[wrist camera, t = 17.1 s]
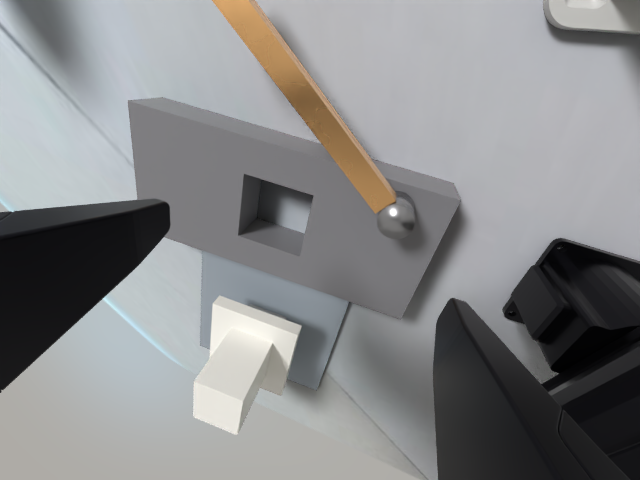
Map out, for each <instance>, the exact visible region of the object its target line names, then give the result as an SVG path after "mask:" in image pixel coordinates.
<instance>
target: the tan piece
mask: <svg viewBox="0 0 640 480" xmlns="http://www.w3.org/2000/svg"><path fill="white" fill-rule="evenodd" d="M212 1H213V2H214V4H215V5H216V6H217V7H218V9H219V10H220V11H221V13H222V14H223V15H224V17H225V18H226V19H227V21H228V22H229V23H230V24H231V26H232V27H233V28H234V30H235V31H236V32H237V34H238V35H239V36H240V38H241V39H242V40H243V41H244V43H245V44H246V45H247V47H248V48H249V49H250V51H251V52H252V53H253V55H254V56H255V57H256V58H257V60H258V61H259V62H260V64H261V65H262V66H263V68H264V69H265V70H266V72H267V73H268V74H269V75H270V77H271V78H272V79H273V81H274V82H275V83H276V85H277V86H278V87H279V89H280V90H281V91H282V92H283V94H284V95H285V96H286V98H287V99H288V100H289V102H290V103H291V104H292V106H293V107H294V108H295V109H296V111H297V112H298V113H299V115H300V116H301V117H302V119H303V120H304V121H305V123H306V124H307V125H308V126H309V128H310V129H311V130H312V132H313V133H314V134H315V136H316V137H317V138H318V140H319V141H320V142H321V143H322V145H323V146H324V147H325V149H326V150H327V151H328V153H329V154H330V155H331V157H332V158H333V159H334V160H335V162H336V163H337V164H338V166H339V167H340V168H341V170H342V171H343V172H344V174H345V175H346V176H347V177H348V179H349V180H350V181H351V183H352V184H353V185H354V187H355V188H356V189H357V191H358V192H359V193H360V194H361V196H362V197H363V198H364V200H365V201H366V202H367V204H368V205H369V206H370V208H371V209H372V210H373V211H374V213H375V214H376V213H377V212H379V214H378V219H377V226H378V229H379V231H380V232H381V233H382V234H383V235H384V236H386V237H388V238H390V239H402V238H404V237H406V236H408V235H409V234H410V233H411V232H412V231H413V229H414V225H415V216H414V202H413V200H412V198H411V197H410V196H409V195H408V194H407V193H405V192H402V191H394V190H393V189H392V187H391V186H390V184H389V183H388V182H387V180H386V179H385V178H384V176H383V175H382V173H381V172H380V171H379V169H378V168H377V167H376V165H375V164H374V163H373V161H372V160H371V158H370V157H369V156H368V154H367V153H366V152H365V150H364V149H363V147H362V146H361V145H360V143H359V142H358V141H357V139H356V138H355V137H354V135H353V134H352V132H351V131H350V130H349V128H348V127H347V126H346V124H345V123H344V121H343V120H342V119H341V117H340V116H339V115H338V113H337V112H336V110H335V109H334V108H333V106H332V105H331V104H330V102H329V101H328V100H327V98H326V97H325V95H324V94H323V93H322V91H321V90H320V89H319V87H318V86H317V84H316V83H315V82H314V80H313V79H312V78H311V76H310V75H309V74H308V72H307V71H306V69H305V68H304V67H303V65H302V64H301V63H300V61H299V60H298V58H297V57H296V56H295V54H294V53H293V52H292V50H291V49H290V48H289V46H288V45H287V43H286V42H285V41H284V39H283V38H282V37H281V35H280V34H279V32H278V31H277V30H276V28H275V27H274V26H273V24H272V23H271V22H270V20H269V19H268V17H267V16H266V15H265V13H264V12H263V11H262V9H261V8H260V6H259V5H258V4H257V2H256V1H255V0H212Z"/></svg>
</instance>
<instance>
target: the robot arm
mask: <svg viewBox="0 0 640 480" xmlns="http://www.w3.org/2000/svg"><path fill="white" fill-rule="evenodd" d="M170 225H171V224H170V206H169V204H168V203H167V202H165V201H162V200H159V199H155V198H153V199H142V200H132V201H121V202H110V203H99V204H88V205H77V206H66V207H55V208H44V209H33V210H22V211H14V212H0V393H1V390H4V389H5V388H6V387H7V386H8V385H9V384H10V383H11V382H12V381H13V380H15V379H16V378H17V377H18V376H19V375H20V374H21V373H22V372H23V371H24V370H26V368H28V366H30V365H31V364H32V363H33V362H34V361H35V360H36V359H37V358H38V357H39V356H41V354H43V353H44V352H45V351H46V350H47V349H48V348H49V347H51V346H52V345H53V344H54V343H55V342H56V341H57V340H58V339H59V338H60V337H61V336H62V335H64V334H65V333H66V332H67V331H68V330H69V329H70V328H71V327H72V326H73V325H74V324H75V323H77V322H78V321H79V320H80V319H81V318H82V317H83V316H84V315H85V314H86V313H88V311H90V310H91V309H92V308H93V307H94V306H95V305H96V304H97V303H98V302H99V301H101V300H102V299H103V298H104V297H105V296H106V295H107V294H108V293H109V292H110V291H111V290H113V289H114V288H115V287H116V286H117V285H118V284H119V283H120V282H121V281H122V280H123V279H125V278H126V277H127V276H128V275H129V274H130V273H131V272H132V271H133V270H134V269H135V268H136V267H137V266H138V265H139V264H140V263H141V262H142V261H143V260H144V259H145V258H146V257H147V255H148V254H149V253H150V252H151V251H152V250H153V249H154V248H155V246H156V245H157V244H158V243H159V242H160V241H161V240H162V238H163V237H164V236H165V235H166V234H167V233H168V231H169V229H170ZM560 245H564V247H563V248H561V249H557V247H559V246H560ZM511 295H512V297H511V298H510V299H509V301H508V302H507V303H506V305H505V306H504V308H503V313H504V315H505V317H506V318H508V319H511V320H514V321H517V322H520V323H523V324H525V325H526V327H527V329H528V331H529V334H530V336H531V338H532V339H533V340H535V341H537V342H538V344H539V346H540V348H541V350H542V352H543V354H544V356H545V358H546V360H547V362H548V364H549V366H550V368H551V370H552V371H554V372H557V373H560V374H558V375H556V376H555V377H553V378H551V379H549V380H548V381H546V382H544V383H543V384H540V383H539V382H538V381H537V380H536V378H535V377H534V376H533V375H532V374H531V373H530V372H529V371H528V370H527V369H526V367H525V366H524V365H523V364H522V363H521V362H520V361H519V360H518V359H517V358H516V356H515V355H514V354H513V353H512V352H511V351H510V350H509V349H508V348H507V347H506V345H505V344H504V343H503V342H502V341H501V340H500V339H499V338H498V337H497V336H496V334H495V333H494V332H493V331H492V330H491V329H490V328H489V327H488V326H487V325H486V323H485V322H484V321H483V320H482V319H481V318H480V317H479V316H478V315H477V314H476V312H475V311H474V310H473V309H472V308H471V307H470V306H469V305H468V304H467V303H466V302H464V301H461V300H458V299H455V298H451V299H450V300H449V301H448V302H447V304H446V306H445V307H444V309H443V311H442V312H441V314H440V316H439V318H438V320H437V324H436V334H435V348H434V362H433V387H434V407H435V426H436V446H437V465H438V480H640V261H637V260H633V259H630V258H627V257H623V256H620V255H617V254H613V253H610V252H607V251H604V250H600V249H597V248H594V247H590V246H587V245H584V244H580V243H577V242H574V241H570V240H567V239H563V238H559V239H555V240H553V241H552V242H551V243H550V245H549V246H548V247H547V249H546V250H545V252H544V253H543V254H542V256H541V257H540V258H539V260H538V261H537V262H536V264H535V265H533V266H531V267H530V269H529V270H528V272H527V273H526V274H525V276H524V277H523V278H522V280H521V281H520V283H519V284H518V285H517V287H516V288H515V289H514V291H513V292H512V294H511ZM510 311H514V312H512V313H509V312H510Z"/></svg>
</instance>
